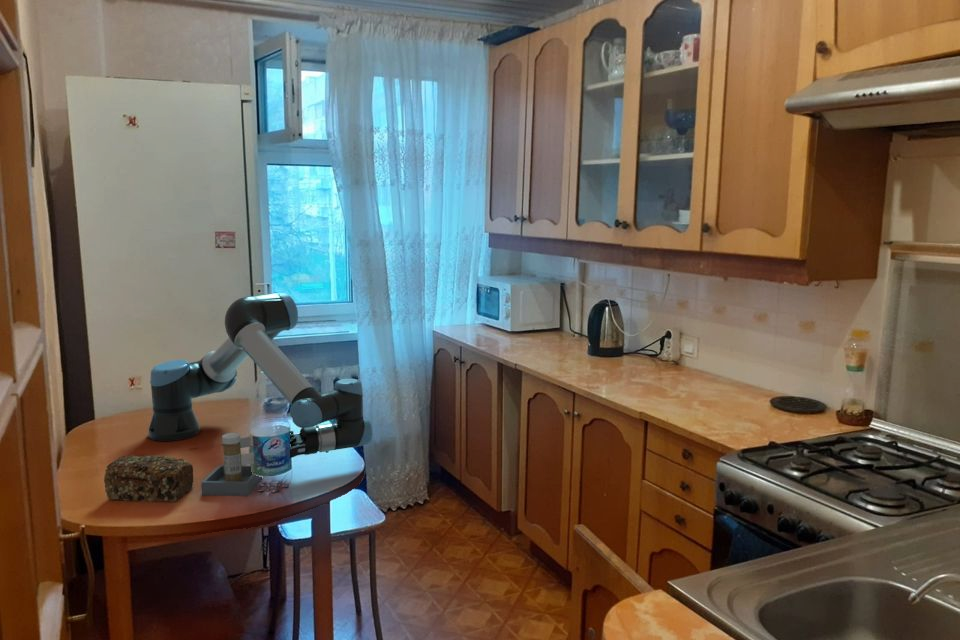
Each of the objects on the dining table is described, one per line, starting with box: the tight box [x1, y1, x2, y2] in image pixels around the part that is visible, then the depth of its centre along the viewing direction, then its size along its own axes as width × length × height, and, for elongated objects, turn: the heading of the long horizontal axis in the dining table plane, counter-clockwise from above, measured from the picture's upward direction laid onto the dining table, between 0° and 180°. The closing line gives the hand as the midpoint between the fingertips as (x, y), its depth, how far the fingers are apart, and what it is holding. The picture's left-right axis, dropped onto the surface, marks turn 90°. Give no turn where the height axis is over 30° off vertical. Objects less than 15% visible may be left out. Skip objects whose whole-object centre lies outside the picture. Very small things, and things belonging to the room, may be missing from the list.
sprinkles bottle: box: [221, 432, 243, 482], centre depth 184 cm, size 5×5×13 cm
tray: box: [200, 464, 263, 497], centre depth 185 cm, size 12×12×4 cm
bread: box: [103, 455, 194, 503], centre depth 180 cm, size 19×11×10 cm, turn 86°
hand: (236, 451), depth 184 cm, fingers open, 13 cm apart
